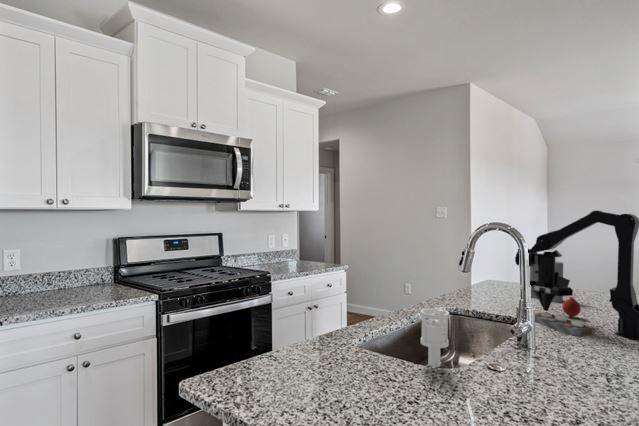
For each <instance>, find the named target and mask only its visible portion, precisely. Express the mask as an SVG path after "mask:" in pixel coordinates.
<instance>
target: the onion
mask: <svg viewBox="0 0 639 426" xmlns="http://www.w3.org/2000/svg"><path fill="white" fill-rule="evenodd" d="M568 297H569V298H568V299H566V300H565V301H564V302H562V303H563V304H562V310H563V313H564V314H566V316H567V317H569V318H574V317H576V316H578V315H579V314H580V312H581V305H580V304H579V303H580V302H578V301H577V300H576V299H575V298H573V296H568Z"/></svg>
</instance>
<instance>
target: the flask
mask: <svg viewBox="0 0 639 426" xmlns="http://www.w3.org/2000/svg"><path fill="white" fill-rule="evenodd" d="M535 270H538V263H537V264H535V266H534V267H529V279H536V280H538V273H535ZM555 271H556V272H558V273H559V276H560V277H563V278H564V263H563V262H560V261H556V260H555ZM543 287H544V286H543ZM533 290H535V287H534V286H531V297H530V298H532V299H538V297H537V296H536V294H535V292H533ZM563 297H564V296H555V297H554V298H553V300H552V302H551V303H558V304H559V303H564V302H563V299H564V298H563Z"/></svg>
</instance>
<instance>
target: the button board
mask: <svg viewBox="0 0 639 426" xmlns="http://www.w3.org/2000/svg"><path fill="white" fill-rule="evenodd" d="M534 313H535V321H534V322H535V323H538V324H540V325H543V326H546V327H549V328H551V329H554V330H557V331H559V332H562V333H565V334H567V335H571V336H575V337H576V336H588V335H595V328H594V327H592V326H588V325H586V324H584V327H582V328H576V327H573V325H572V324H571V320H572V319H571V320H570V319H568V318H567V322H559V321H556V319H555V315H556V314H552V317H544V316H541V313H542V312H534ZM544 313H547V311H545V312H544Z"/></svg>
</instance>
